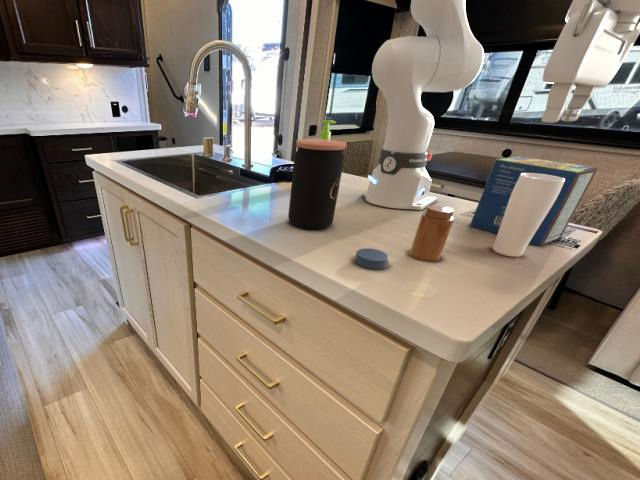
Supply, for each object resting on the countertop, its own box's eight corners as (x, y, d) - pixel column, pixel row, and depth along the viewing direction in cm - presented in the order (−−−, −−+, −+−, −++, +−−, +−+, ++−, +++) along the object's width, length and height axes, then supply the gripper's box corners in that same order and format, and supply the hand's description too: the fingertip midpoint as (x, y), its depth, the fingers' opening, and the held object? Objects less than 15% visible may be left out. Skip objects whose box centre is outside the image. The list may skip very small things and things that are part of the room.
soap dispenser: (316, 187, 114) (326, 120, 104) (306, 182, 120) (314, 119, 109) (331, 186, 116) (342, 120, 105) (321, 182, 121) (330, 119, 111)
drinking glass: (511, 246, 72) (546, 173, 64) (534, 259, 67) (576, 181, 59) (480, 245, 72) (511, 172, 64) (500, 258, 66) (538, 179, 59)
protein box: (490, 219, 88) (517, 156, 80) (560, 239, 77) (600, 167, 69) (468, 225, 84) (494, 158, 76) (539, 247, 73) (579, 171, 64)
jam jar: (418, 248, 70) (433, 202, 65) (444, 257, 67) (462, 209, 62) (404, 254, 67) (418, 207, 62) (431, 263, 64) (448, 214, 59)
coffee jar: (332, 233, 76) (348, 146, 67) (285, 228, 78) (294, 143, 69) (331, 218, 85) (345, 140, 76) (289, 214, 87) (297, 138, 78)
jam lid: (362, 270, 60) (364, 261, 60) (349, 256, 65) (351, 248, 64) (392, 269, 61) (394, 260, 60) (377, 256, 66) (379, 247, 65)
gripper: (634, -21, 36) (565, 125, 43) (660, 9, 47) (601, 122, 54) (561, -10, 40) (509, 121, 47) (600, 15, 51) (553, 119, 58)
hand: (558, 121), depth 51 cm, fingers open, 8 cm apart
